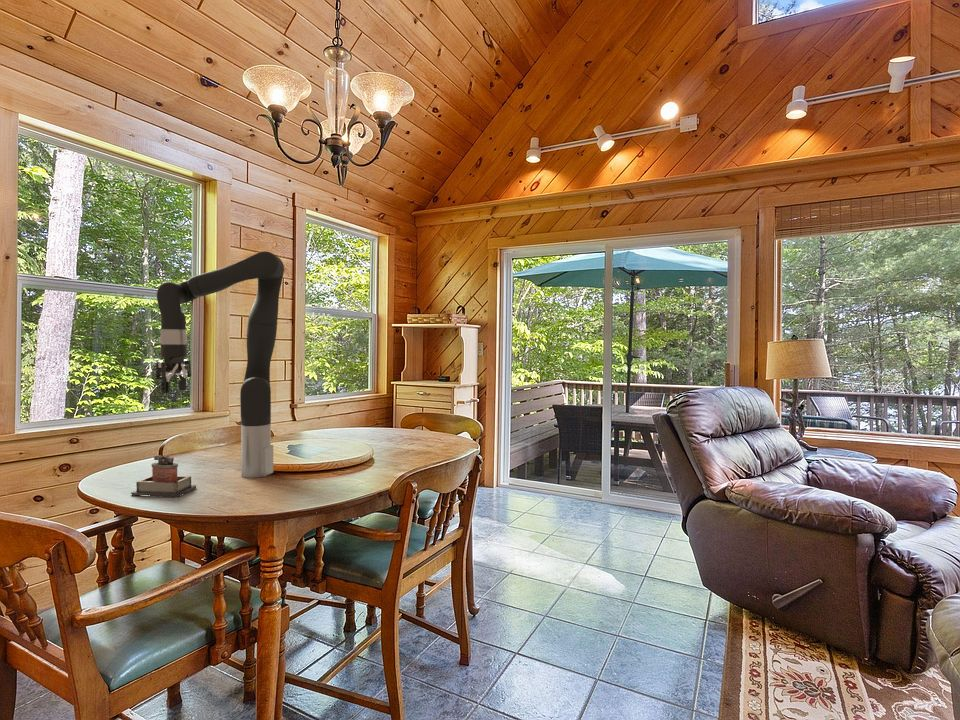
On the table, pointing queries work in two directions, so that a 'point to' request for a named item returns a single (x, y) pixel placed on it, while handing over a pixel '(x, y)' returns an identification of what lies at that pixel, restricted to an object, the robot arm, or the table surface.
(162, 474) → the lighter
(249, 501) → the table surface
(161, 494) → the rectangular tray
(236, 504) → the table surface
